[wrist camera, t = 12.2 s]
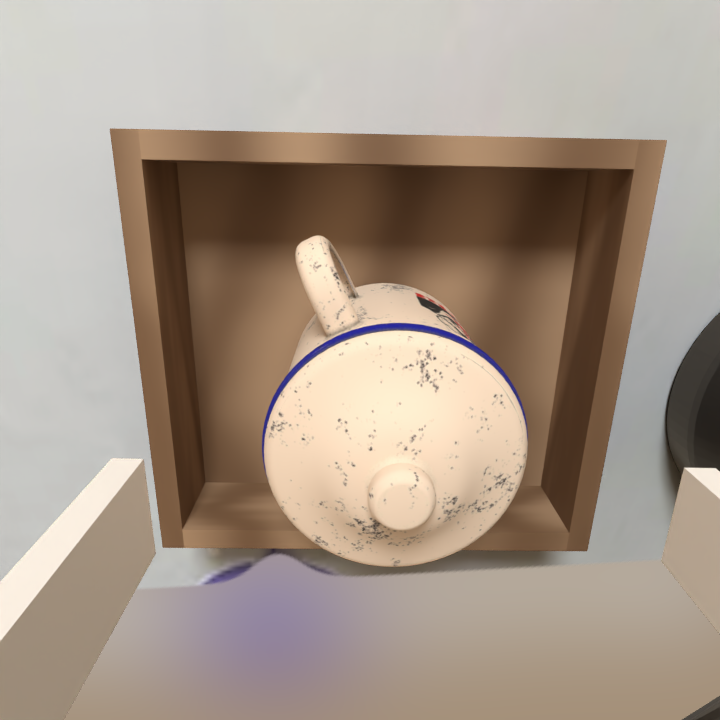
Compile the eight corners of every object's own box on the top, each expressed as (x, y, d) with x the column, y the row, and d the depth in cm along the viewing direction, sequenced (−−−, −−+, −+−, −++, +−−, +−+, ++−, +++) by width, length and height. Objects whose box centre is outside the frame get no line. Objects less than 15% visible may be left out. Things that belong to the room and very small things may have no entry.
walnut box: (604, 147, 24) (667, 140, 19) (549, 491, 30) (587, 551, 25) (159, 138, 23) (109, 128, 19) (193, 487, 29) (162, 547, 25)
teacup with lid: (499, 409, 27) (600, 570, 16) (337, 473, 28) (327, 666, 17) (410, 183, 23) (461, 187, 12) (228, 267, 24) (124, 342, 13)
